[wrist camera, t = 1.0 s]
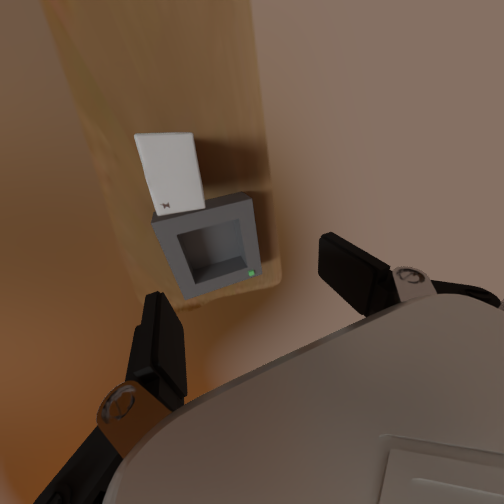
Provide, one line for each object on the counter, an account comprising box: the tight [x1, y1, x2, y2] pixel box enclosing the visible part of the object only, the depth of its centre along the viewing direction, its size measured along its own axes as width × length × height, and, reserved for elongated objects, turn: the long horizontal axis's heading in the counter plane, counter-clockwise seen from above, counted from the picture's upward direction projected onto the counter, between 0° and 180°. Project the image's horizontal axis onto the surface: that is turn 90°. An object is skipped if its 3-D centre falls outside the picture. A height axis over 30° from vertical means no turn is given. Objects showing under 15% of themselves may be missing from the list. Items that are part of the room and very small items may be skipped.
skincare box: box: [134, 132, 206, 216], centre depth 20 cm, size 6×4×12 cm
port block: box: [151, 192, 262, 300], centre depth 30 cm, size 13×13×5 cm
